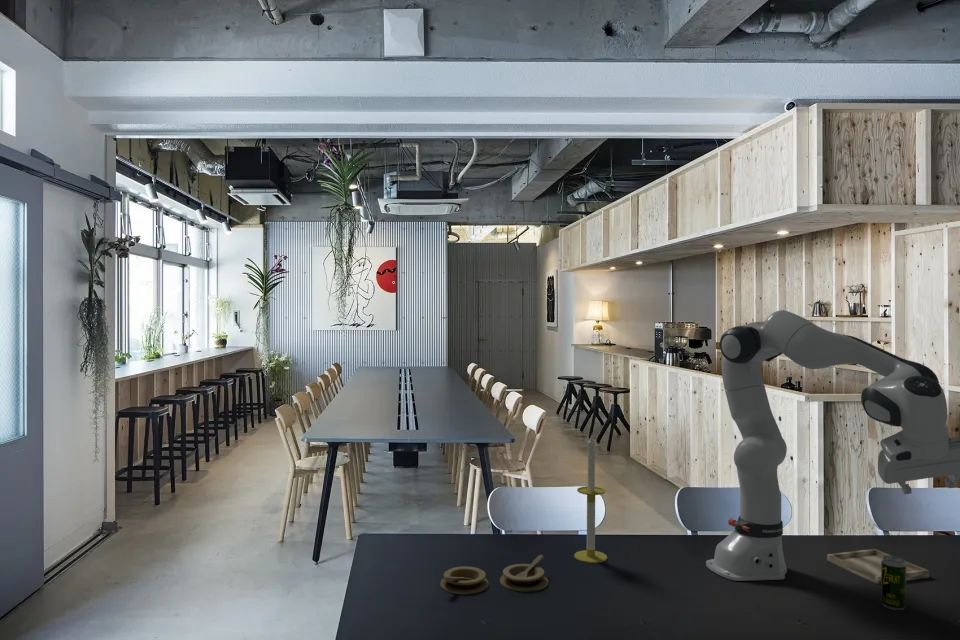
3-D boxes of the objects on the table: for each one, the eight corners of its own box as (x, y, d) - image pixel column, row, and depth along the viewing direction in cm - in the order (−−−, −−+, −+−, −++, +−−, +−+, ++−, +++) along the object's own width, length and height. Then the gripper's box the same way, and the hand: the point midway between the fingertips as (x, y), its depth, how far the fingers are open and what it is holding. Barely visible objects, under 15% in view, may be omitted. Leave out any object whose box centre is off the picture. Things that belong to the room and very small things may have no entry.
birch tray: (878, 584, 183) (878, 577, 183) (827, 561, 201) (827, 554, 201) (928, 577, 188) (928, 570, 188) (874, 555, 206) (874, 548, 206)
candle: (592, 549, 210) (593, 429, 210) (614, 559, 201) (615, 434, 201) (567, 554, 205) (568, 432, 204) (588, 565, 196) (589, 438, 196)
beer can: (882, 600, 173) (883, 553, 173) (907, 606, 170) (907, 558, 170) (879, 606, 169) (879, 559, 169) (903, 613, 166) (904, 564, 166)
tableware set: (539, 569, 195) (539, 549, 195) (556, 598, 176) (556, 575, 175) (437, 574, 191) (438, 553, 191) (443, 604, 172) (443, 581, 171)
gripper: (969, 426, 155) (970, 474, 160) (872, 441, 160) (877, 487, 165) (983, 442, 149) (984, 491, 154) (883, 457, 154) (887, 504, 159)
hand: (928, 489), depth 160 cm, fingers open, 8 cm apart
